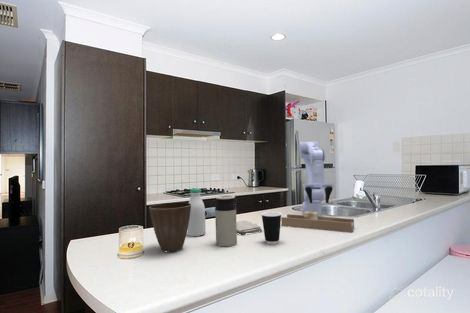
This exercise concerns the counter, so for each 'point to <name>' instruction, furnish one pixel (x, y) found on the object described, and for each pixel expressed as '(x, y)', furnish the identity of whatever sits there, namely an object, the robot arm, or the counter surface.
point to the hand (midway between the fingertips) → (319, 202)
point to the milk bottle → (196, 214)
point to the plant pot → (170, 224)
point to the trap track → (319, 223)
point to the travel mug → (225, 221)
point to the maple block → (311, 215)
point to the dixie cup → (271, 226)
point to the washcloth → (247, 227)
